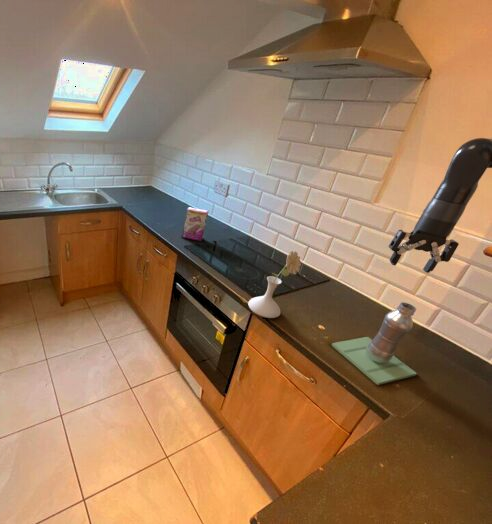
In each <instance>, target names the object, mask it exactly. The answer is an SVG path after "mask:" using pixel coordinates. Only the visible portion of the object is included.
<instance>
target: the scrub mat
mask: <svg viewBox="0 0 492 524" xmlns="http://www.w3.org/2000/svg"><path fill="white" fill-rule="evenodd" d="M372 340H373V339H372V338H370V337H369V336H364V337H358V338H352V339H348V340H342V341H335V342H332V343H331V347H333V348H334V349H335V350H336V351H337V352H338V353H339V354H340V355H342V356H343V357H344V358H345V359H347V360H348V362H350V363H351V364H352V365H354V366H355V367H356V368H357V369H358V370H359V371H361V372H362V373H363V374H364V375H365V376H367V377H368V378H369V379H370V380H371V381H372V382H373V383H374V384H375V385H377V386H380V385H385V384H389V383H392V382H396V381H401V380H403V379H404V380H405V379H409V378H412V377H415V376H416V375H417V374H418V373H417V372H416V371H415V370H414V369H412V368H410V367H409V365H407V364H406V363H404V362H403V361H401V360H400V359H399V358H397V357H396V356H395V355H393V356H392V359H391V360H390V361H389V362H388V363H384V364H380V363H377V362H375V361H373V360H371V359H370V358H369V357H368V356H367V354H366V347H367V345H368V344H369V343H370V342H371V341H372Z"/></svg>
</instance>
